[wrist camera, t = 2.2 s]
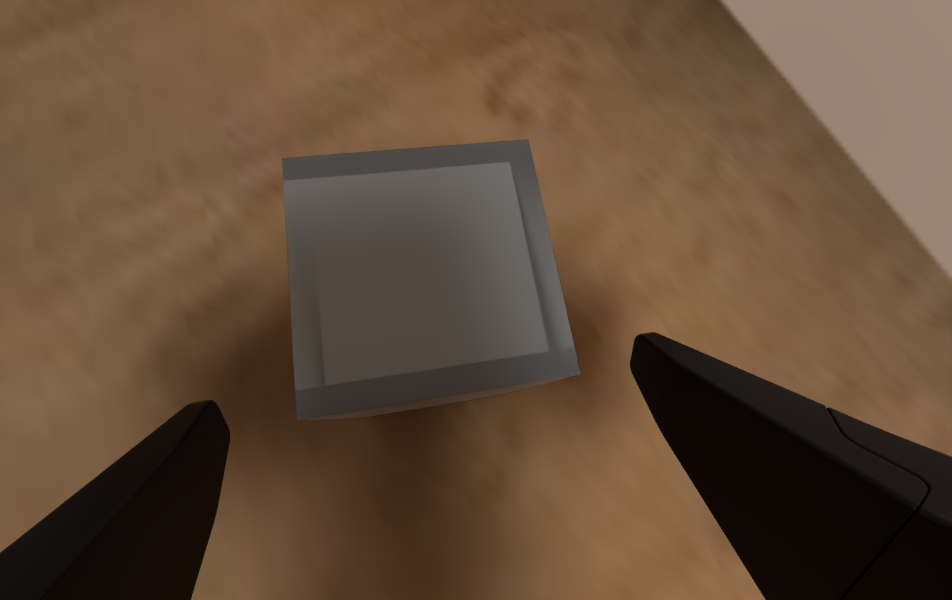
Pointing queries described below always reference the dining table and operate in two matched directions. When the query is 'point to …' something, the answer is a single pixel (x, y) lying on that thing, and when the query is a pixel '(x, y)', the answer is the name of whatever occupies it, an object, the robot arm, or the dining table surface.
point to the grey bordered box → (420, 279)
